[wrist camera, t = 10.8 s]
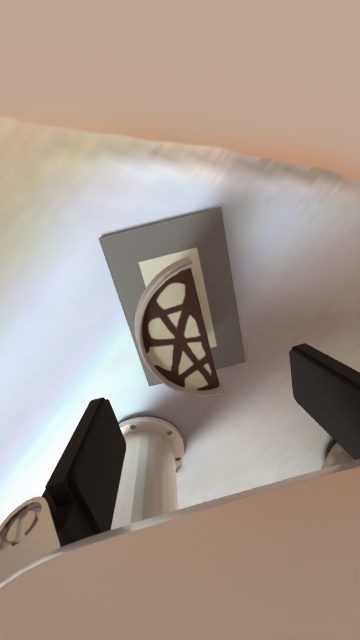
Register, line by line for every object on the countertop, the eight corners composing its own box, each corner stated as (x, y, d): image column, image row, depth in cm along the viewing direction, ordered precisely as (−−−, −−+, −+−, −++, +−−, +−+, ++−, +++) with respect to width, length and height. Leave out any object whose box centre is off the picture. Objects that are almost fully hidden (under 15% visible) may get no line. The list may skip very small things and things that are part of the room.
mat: (243, 359, 29) (245, 362, 28) (149, 384, 29) (149, 386, 28) (219, 208, 23) (221, 207, 22) (99, 238, 23) (98, 238, 22)
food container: (129, 271, 23) (105, 280, 14) (180, 257, 23) (191, 256, 14) (159, 361, 27) (157, 417, 17) (203, 349, 27) (225, 398, 17)
